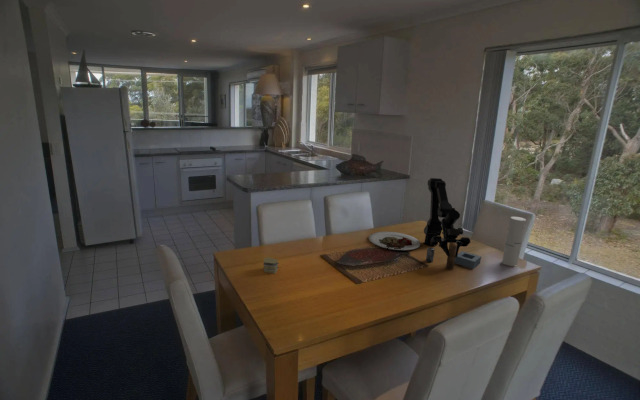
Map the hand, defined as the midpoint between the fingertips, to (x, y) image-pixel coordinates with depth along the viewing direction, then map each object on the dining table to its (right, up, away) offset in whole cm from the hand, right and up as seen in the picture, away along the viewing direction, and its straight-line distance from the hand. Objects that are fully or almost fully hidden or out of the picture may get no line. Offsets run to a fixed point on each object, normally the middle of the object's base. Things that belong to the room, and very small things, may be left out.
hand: (452, 256), depth 181 cm
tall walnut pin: (0, -6, +3) cm, 7 cm away
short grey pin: (-9, -4, +10) cm, 14 cm away
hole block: (+11, -5, +10) cm, 16 cm away
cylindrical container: (+35, -6, +13) cm, 38 cm away
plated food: (-22, +3, +35) cm, 41 cm away
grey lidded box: (-89, -5, -12) cm, 90 cm away
